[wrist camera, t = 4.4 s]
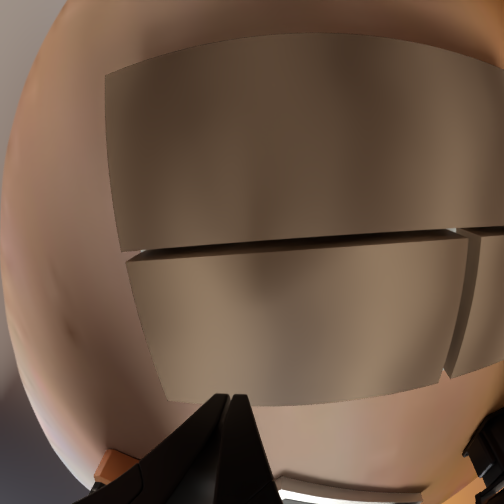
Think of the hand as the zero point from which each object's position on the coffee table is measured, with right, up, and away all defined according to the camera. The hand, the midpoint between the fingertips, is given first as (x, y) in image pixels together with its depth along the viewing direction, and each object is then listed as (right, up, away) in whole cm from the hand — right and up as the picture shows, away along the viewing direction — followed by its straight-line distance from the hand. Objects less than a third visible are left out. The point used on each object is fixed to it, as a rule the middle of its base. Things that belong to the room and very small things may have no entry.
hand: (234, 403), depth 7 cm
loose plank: (+3, +2, +4) cm, 5 cm away
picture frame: (+8, -25, +13) cm, 30 cm away
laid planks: (+5, +5, +3) cm, 8 cm away
